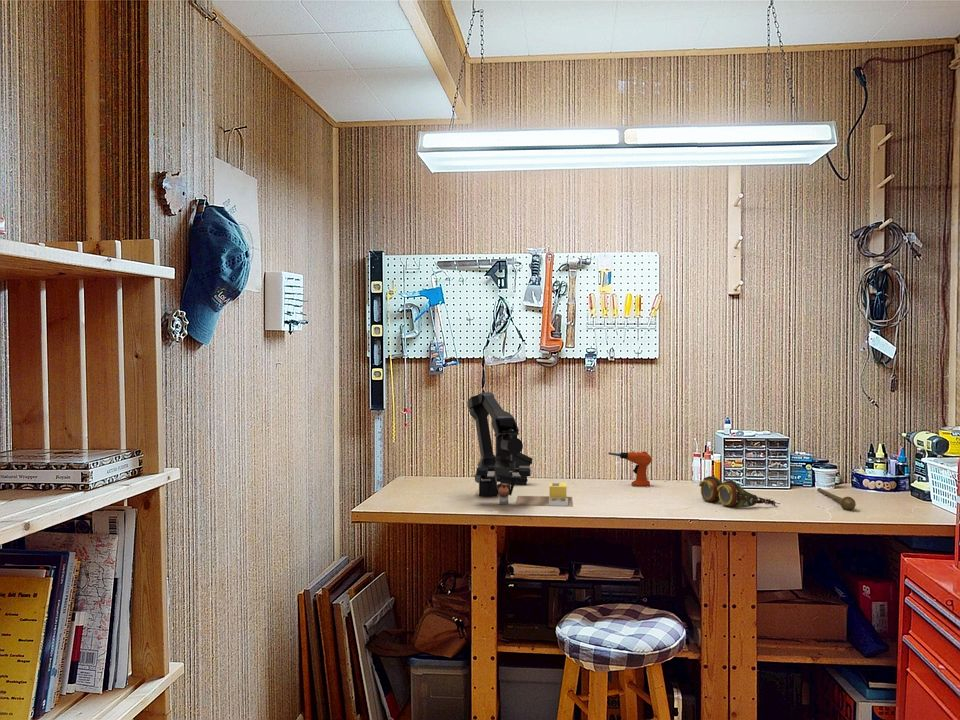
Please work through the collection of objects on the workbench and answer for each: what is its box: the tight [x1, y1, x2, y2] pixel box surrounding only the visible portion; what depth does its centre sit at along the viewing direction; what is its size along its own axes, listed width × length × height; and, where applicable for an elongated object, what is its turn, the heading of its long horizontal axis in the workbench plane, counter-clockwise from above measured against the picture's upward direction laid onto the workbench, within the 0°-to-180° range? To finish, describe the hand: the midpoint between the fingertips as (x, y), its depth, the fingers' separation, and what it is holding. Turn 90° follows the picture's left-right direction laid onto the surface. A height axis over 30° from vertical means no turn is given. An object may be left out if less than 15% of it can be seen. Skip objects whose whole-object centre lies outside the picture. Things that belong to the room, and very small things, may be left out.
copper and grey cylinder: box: [497, 483, 511, 506], centre depth 246 cm, size 4×4×8 cm
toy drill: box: [607, 450, 652, 488], centre depth 285 cm, size 5×18×14 cm, turn 82°
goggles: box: [698, 475, 776, 509], centre depth 252 cm, size 24×24×10 cm
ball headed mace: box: [816, 487, 857, 511], centre depth 254 cm, size 5×35×5 cm
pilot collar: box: [548, 497, 568, 507], centre depth 246 cm, size 7×7×2 cm
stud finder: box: [549, 482, 567, 498], centre depth 254 cm, size 6×7×5 cm
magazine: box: [499, 452, 534, 486], centre depth 288 cm, size 4×13×15 cm, turn 88°
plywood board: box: [514, 495, 574, 508], centre depth 251 cm, size 20×16×1 cm
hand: (503, 495), depth 246 cm, fingers closed on copper and grey cylinder, 4 cm apart
